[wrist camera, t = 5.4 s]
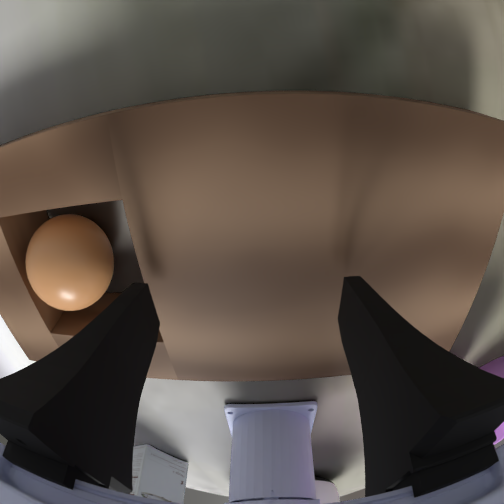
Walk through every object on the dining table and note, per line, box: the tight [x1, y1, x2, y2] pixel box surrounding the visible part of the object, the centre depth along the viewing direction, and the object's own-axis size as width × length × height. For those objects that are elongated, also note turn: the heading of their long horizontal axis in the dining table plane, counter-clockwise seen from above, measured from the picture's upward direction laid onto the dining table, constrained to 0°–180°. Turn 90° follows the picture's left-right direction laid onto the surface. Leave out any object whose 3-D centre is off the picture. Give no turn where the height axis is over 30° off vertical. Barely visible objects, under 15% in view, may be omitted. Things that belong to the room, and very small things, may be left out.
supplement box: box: [130, 444, 188, 504], centre depth 28 cm, size 7×7×13 cm
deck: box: [0, 91, 504, 381], centre depth 14 cm, size 14×28×4 cm, turn 93°
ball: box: [25, 214, 114, 311], centre depth 14 cm, size 5×5×5 cm
